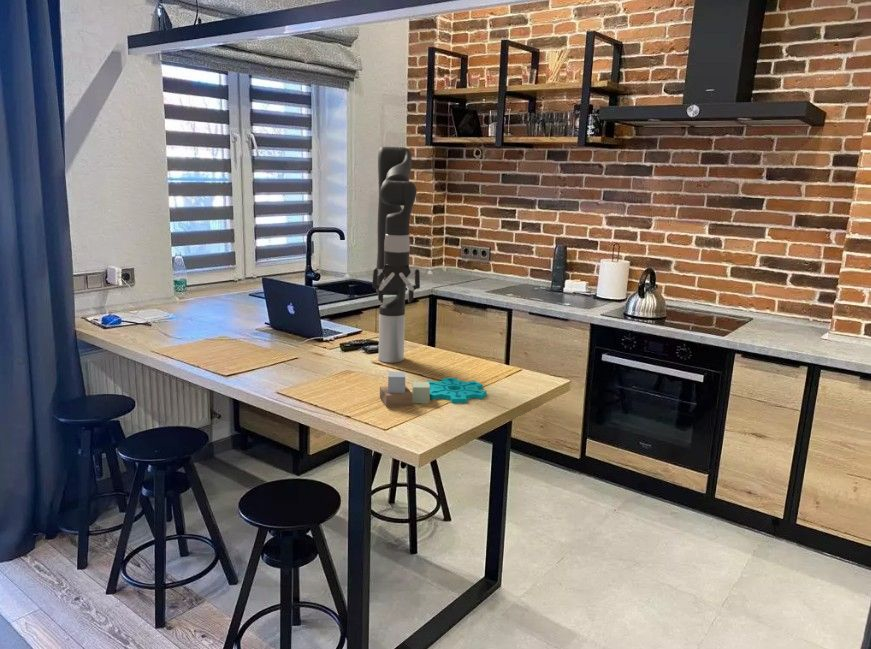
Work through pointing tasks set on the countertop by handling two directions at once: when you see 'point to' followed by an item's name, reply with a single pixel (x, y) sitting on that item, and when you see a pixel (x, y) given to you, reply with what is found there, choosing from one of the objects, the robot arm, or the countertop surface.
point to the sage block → (421, 392)
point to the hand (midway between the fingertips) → (395, 302)
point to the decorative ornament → (456, 390)
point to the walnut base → (396, 398)
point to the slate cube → (396, 382)
